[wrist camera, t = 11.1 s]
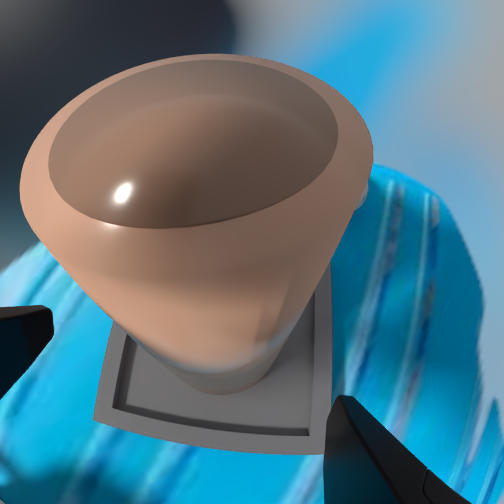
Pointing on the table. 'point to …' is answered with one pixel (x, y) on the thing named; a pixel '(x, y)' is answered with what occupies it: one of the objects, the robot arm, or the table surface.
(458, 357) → the table surface
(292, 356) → the charcoal tray
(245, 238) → the terracotta cup
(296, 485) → the table surface
